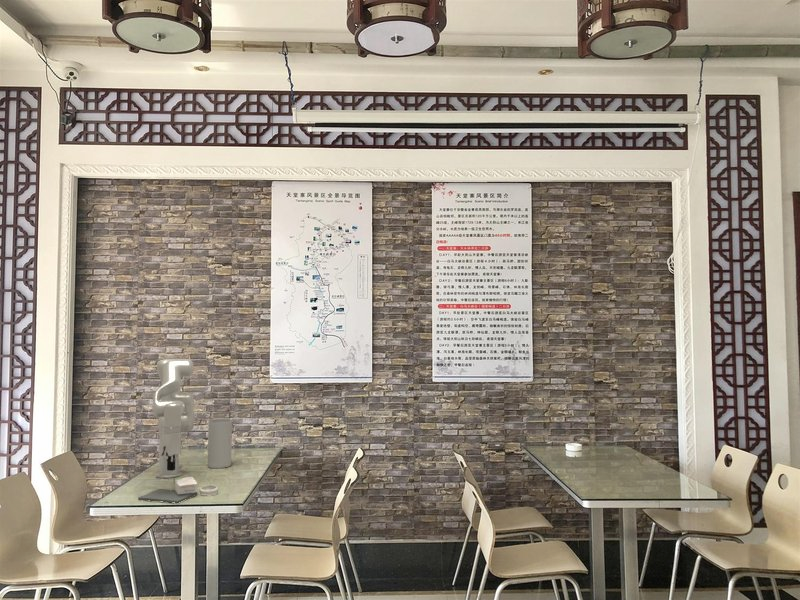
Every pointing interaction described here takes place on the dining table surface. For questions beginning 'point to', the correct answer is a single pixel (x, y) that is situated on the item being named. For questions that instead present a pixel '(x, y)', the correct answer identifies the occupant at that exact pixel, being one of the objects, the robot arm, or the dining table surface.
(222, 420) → the cylinder vase
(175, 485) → the ink box
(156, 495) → the rubber mat
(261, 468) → the dining table surface
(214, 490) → the white ashtray dish
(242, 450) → the dining table surface
